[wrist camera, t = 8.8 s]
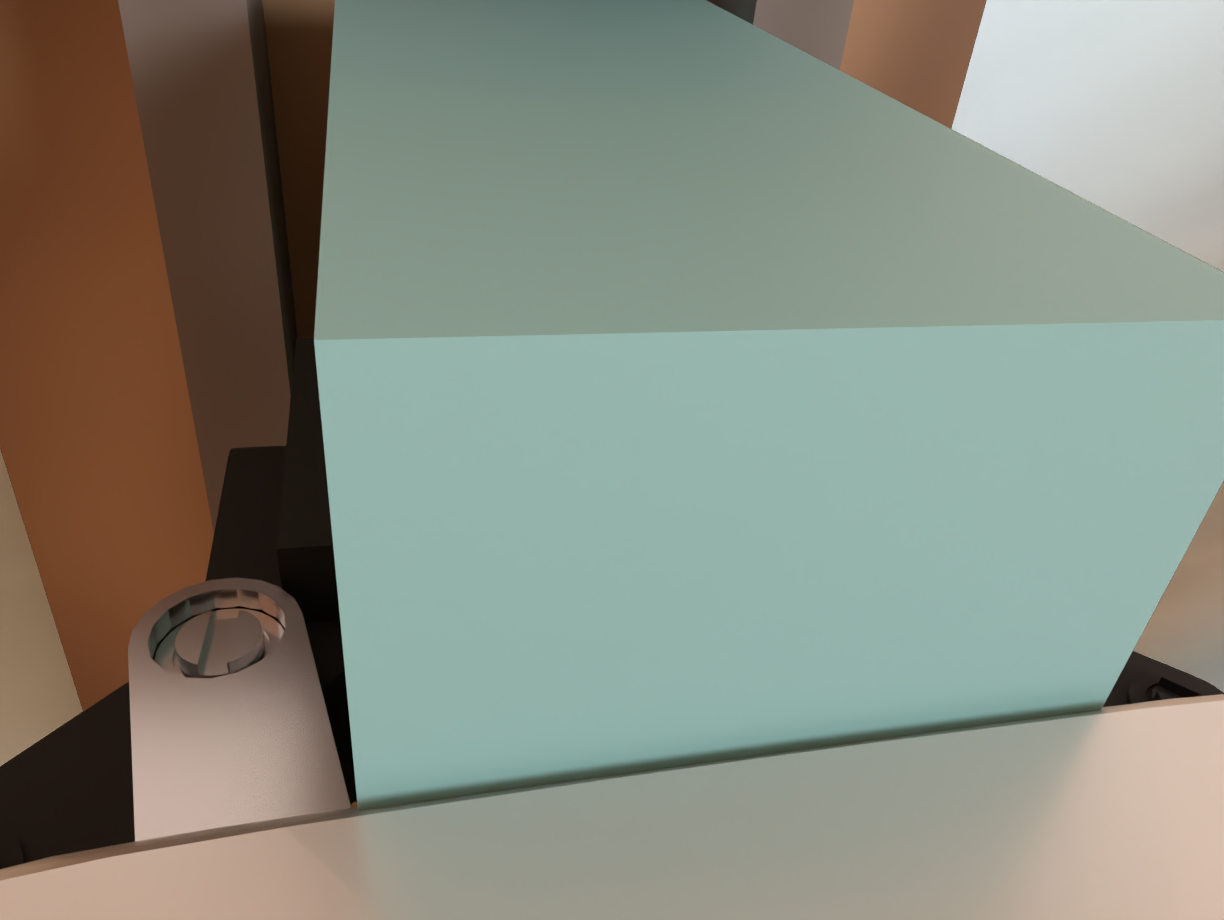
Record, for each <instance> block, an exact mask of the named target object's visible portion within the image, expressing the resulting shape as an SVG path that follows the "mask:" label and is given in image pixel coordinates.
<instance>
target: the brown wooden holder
mask: <svg viewBox="0 0 1224 920" xmlns="http://www.w3.org/2000/svg"><path fill="white" fill-rule="evenodd" d="M707 1H709V2H710V3H712V4H714V5H716V6H718V7H720V8H722V9H724V10H726V11H728V12H729V13H731V14H733V15H735V16H737V17H739V18H741V19H743V20H745V21H747V22H748V23H750V24H752V25H754V26H756V27H758V28H760V29H762V30H764V31H766V32H767V33H769V34H771V35H773V36H775V37H777V38H779V39H781V40H783V41H785V42H787V43H788V44H790V45H792V46H794V47H796V48H798V49H800V50H802V51H804V52H806V53H807V54H809V55H811V56H813V57H815V58H817V59H819V60H821V61H823V62H825V63H826V64H828V65H830V66H832V67H834V68H836V69H838V70H840V71H842V72H844V73H845V74H847V75H849V76H851V77H853V78H855V79H857V80H859V81H861V82H863V83H864V84H866V85H868V86H870V87H872V88H874V89H876V90H878V91H880V92H882V93H883V94H885V95H887V96H889V97H891V98H893V99H895V100H897V101H899V102H901V103H903V104H904V105H906V106H908V107H910V108H912V109H914V110H916V111H918V112H920V113H922V114H923V115H925V116H927V117H929V118H931V119H933V120H935V121H937V122H939V123H941V124H942V125H944V126H946V127H948V128H950V129H951V127H952V124H953V120H954V117H955V113H956V109H957V106H958V102H959V98H960V95H961V91H962V88H963V84H964V80H965V77H966V73H967V69H968V66H969V62H970V58H971V55H972V51H973V48H974V44H975V40H976V37H977V33H978V29H979V26H980V22H981V19H982V15H983V11H984V8H985V4H986V0H707ZM334 8H335V0H0V449H1V452H2V455H3V458H4V461H5V465H6V468H7V471H8V474H9V477H10V481H11V484H12V487H13V490H14V493H15V496H16V500H17V503H18V506H19V509H20V512H21V515H22V519H23V522H24V525H25V528H26V531H27V534H28V538H29V541H30V544H31V547H32V550H33V553H34V557H35V560H36V563H37V566H38V569H39V573H40V576H41V579H42V582H43V585H44V588H45V592H46V595H47V598H48V601H49V604H50V607H51V611H52V614H53V617H54V620H55V623H56V626H57V630H58V633H59V636H60V639H61V642H62V645H63V649H64V652H65V655H66V658H67V661H68V665H69V668H70V671H71V674H72V677H73V680H74V684H75V687H76V690H77V693H78V696H79V699H80V703H81V706H82V709H83V711H85V710H86V709H88V708H89V707H91V706H92V705H94V704H95V703H97V702H98V701H100V700H101V699H103V698H104V697H106V696H107V695H109V694H110V693H112V692H113V691H115V690H116V689H118V688H119V687H121V686H122V685H124V684H126V683H127V682H129V667H128V647H129V642H130V637H131V633H132V630H133V629H134V628H135V626H136V625H137V623H138V622H139V620H140V619H141V617H142V616H143V614H144V613H146V612H147V611H148V610H149V609H151V608H152V607H153V606H154V605H155V604H157V603H158V602H159V601H160V600H162V599H163V598H165V597H167V596H169V595H171V594H173V593H175V592H177V591H179V590H181V589H183V588H185V587H188V586H191V585H195V584H198V583H202V582H205V581H206V575H207V570H208V564H209V559H210V553H211V548H212V542H213V537H214V531H215V526H216V520H217V515H218V509H219V504H220V498H221V493H222V487H223V482H224V476H225V471H226V465H227V460H228V455H229V452H230V450H231V449H232V448H243V447H264V446H285V445H286V443H287V432H288V421H289V411H290V400H291V389H292V379H293V368H294V357H295V347H296V339H297V338H314V331H315V314H316V298H317V282H318V266H319V250H320V234H321V218H322V202H323V185H324V169H325V153H326V137H327V121H328V105H329V89H330V73H331V57H332V40H333V24H334ZM354 807H358V805H357V802H353V803H352V804H351V808H354Z"/></svg>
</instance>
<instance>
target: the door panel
mask: <svg viewBox="0 0 1224 920" xmlns="http://www.w3.org/2000/svg"><path fill="white" fill-rule="evenodd" d="M314 346H315V357H316V368H317V378H318V389H319V400H320V410H321V421H322V432H323V442H324V453H325V464H326V474H327V485H328V496H329V506H330V517H331V528H332V538H333V549H334V560H335V571H336V581H337V592H338V603H339V613H340V624H341V635H342V645H343V656H344V667H345V677H346V688H347V699H348V709H349V720H350V731H351V741H352V752H353V763H354V773H355V784H356V795H357V805H358V811H361V810H368V809H375V808H382V807H389V806H396V805H403V804H410V803H417V802H424V801H431V800H438V799H445V798H452V797H459V796H466V795H473V794H480V793H487V792H494V791H501V790H508V789H515V788H523V787H530V786H537V785H545V784H552V783H560V782H567V781H574V780H582V779H589V778H597V777H604V776H611V775H619V774H626V773H634V772H641V771H648V770H656V769H663V768H670V767H678V766H685V765H692V764H700V763H707V762H715V761H722V760H729V759H737V758H744V757H751V756H759V755H766V754H773V753H781V752H788V751H795V750H803V749H810V748H818V747H825V746H832V745H840V744H847V743H854V742H862V741H869V740H876V739H884V738H891V737H899V736H906V735H913V734H921V733H928V732H936V731H943V730H950V729H958V728H965V727H973V726H980V725H988V724H995V723H1003V722H1011V721H1018V720H1026V719H1034V718H1041V717H1049V716H1057V715H1064V714H1072V713H1080V712H1088V711H1095V710H1101V709H1102V707H1103V705H1104V704H1105V702H1106V700H1107V698H1108V696H1109V694H1110V692H1111V690H1112V689H1113V687H1114V685H1115V683H1116V681H1117V679H1118V677H1119V676H1120V674H1121V672H1122V670H1123V668H1124V666H1125V664H1126V662H1127V661H1128V659H1129V657H1130V655H1131V653H1132V651H1133V649H1134V647H1135V646H1136V644H1137V642H1138V640H1139V638H1140V636H1141V634H1142V633H1143V631H1144V629H1145V627H1146V625H1147V623H1148V621H1149V619H1150V618H1151V616H1152V614H1153V612H1154V610H1155V608H1156V606H1157V604H1158V603H1159V601H1160V599H1161V597H1162V595H1163V593H1164V591H1165V590H1166V588H1167V586H1168V584H1169V582H1170V580H1171V578H1172V576H1173V575H1174V573H1175V571H1176V569H1177V567H1178V565H1179V563H1180V561H1181V560H1182V558H1183V556H1184V554H1185V552H1186V550H1187V548H1188V547H1189V545H1190V543H1191V541H1192V539H1193V537H1194V535H1195V533H1196V532H1197V530H1198V528H1199V526H1200V524H1201V522H1202V520H1203V518H1204V517H1205V515H1206V513H1207V511H1208V509H1209V507H1210V505H1211V504H1212V502H1213V500H1214V498H1215V496H1216V494H1217V492H1218V490H1219V489H1220V487H1221V485H1222V483H1223V481H1224V272H1222V271H1220V270H1218V269H1216V268H1214V267H1212V266H1211V265H1209V264H1207V263H1205V262H1203V261H1201V260H1199V259H1197V258H1195V257H1193V256H1192V255H1190V254H1188V253H1186V252H1184V251H1182V250H1180V249H1178V248H1176V247H1174V246H1173V245H1171V244H1169V243H1167V242H1165V241H1163V240H1161V239H1159V238H1157V237H1155V236H1154V235H1152V234H1150V233H1148V232H1146V231H1144V230H1142V229H1140V228H1138V227H1136V226H1135V225H1133V224H1131V223H1129V222H1127V221H1125V220H1123V219H1121V218H1119V217H1117V216H1116V215H1114V214H1112V213H1110V212H1108V211H1106V210H1104V209H1102V208H1100V207H1098V206H1096V205H1095V204H1093V203H1091V202H1089V201H1087V200H1085V199H1083V198H1081V197H1079V196H1077V195H1076V194H1074V193H1072V192H1070V191H1068V190H1066V189H1064V188H1062V187H1060V186H1058V185H1057V184H1055V183H1053V182H1051V181H1049V180H1047V179H1045V178H1043V177H1041V176H1039V175H1038V174H1036V173H1034V172H1032V171H1030V170H1028V169H1026V168H1024V167H1022V166H1020V165H1019V164H1017V163H1015V162H1013V161H1011V160H1009V159H1007V158H1005V157H1003V156H1001V155H999V154H998V153H996V152H994V151H992V150H990V149H988V148H986V147H984V146H982V145H980V144H979V143H977V142H975V141H973V140H971V139H969V138H967V137H965V136H963V135H961V134H960V133H958V132H956V131H954V130H952V129H950V128H948V127H946V126H944V125H942V124H941V123H939V122H937V121H935V120H933V119H931V118H929V117H927V116H925V115H923V114H922V113H920V112H918V111H916V110H914V109H912V108H910V107H908V106H906V105H904V104H903V103H901V102H899V101H897V100H895V99H893V98H891V97H889V96H887V95H885V94H883V93H882V92H880V91H878V90H876V89H874V88H872V87H870V86H868V85H866V84H864V83H863V82H861V81H859V80H857V79H855V78H853V77H851V76H849V75H847V74H845V73H844V72H842V71H840V70H838V69H836V68H834V67H832V66H830V65H828V64H826V63H825V62H823V61H821V60H819V59H817V58H815V57H813V56H811V55H809V54H807V53H806V52H804V51H802V50H800V49H798V48H796V47H794V46H792V45H790V44H788V43H787V42H785V41H783V40H781V39H779V38H777V37H775V36H773V35H771V34H769V33H767V32H766V31H764V30H762V29H760V28H758V27H756V26H754V25H752V24H750V23H748V22H747V21H745V20H743V19H741V18H739V17H737V16H735V15H733V14H731V13H729V12H728V11H726V10H724V9H722V8H720V7H718V6H716V5H714V4H712V3H710V2H709V1H707V0H335V8H334V24H333V40H332V57H331V73H330V89H329V105H328V121H327V137H326V153H325V169H324V185H323V202H322V218H321V234H320V250H319V266H318V282H317V298H316V314H315V331H314Z"/></svg>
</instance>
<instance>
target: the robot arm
mask: <svg viewBox="0 0 1224 920" xmlns="http://www.w3.org/2000/svg"><path fill="white" fill-rule="evenodd" d="M128 667H129V682H127V683H126V684H124V685H122V686H121V687H119V688H118V689H116V690H115V691H113V692H112V693H110V694H109V695H107V696H106V697H104V698H103V699H101V700H100V701H98V702H97V703H95V704H94V705H92V706H91V707H89V708H88V709H86V710H85V711H83V712H82V713H80V714H79V715H77V716H76V717H74V718H73V719H71V720H70V721H68V722H67V723H65V724H64V725H62V726H61V727H59V728H58V729H56V730H55V731H53V732H52V733H50V734H49V735H47V736H46V737H44V738H43V739H41V740H40V741H38V742H37V743H35V744H34V745H32V746H31V747H29V748H28V749H26V750H25V751H23V752H22V753H20V754H19V755H17V756H16V757H14V758H13V759H11V760H10V761H8V762H7V763H5V764H4V765H2V766H1V767H0V920H1224V693H1223V692H1222V691H1220V690H1219V689H1217V688H1216V687H1215V686H1213V685H1211V684H1209V683H1208V682H1206V681H1204V680H1201V679H1199V678H1197V677H1194V676H1192V675H1190V674H1188V673H1185V672H1183V671H1180V670H1178V669H1175V668H1173V667H1171V666H1168V665H1166V664H1163V663H1161V662H1158V661H1156V660H1153V659H1151V658H1148V657H1146V656H1143V655H1141V654H1139V653H1136V652H1134V651H1132V653H1131V655H1130V657H1129V659H1128V661H1127V662H1126V664H1125V666H1124V668H1123V670H1122V672H1121V674H1120V676H1119V677H1118V679H1117V681H1116V683H1115V685H1114V687H1113V689H1112V690H1111V692H1110V694H1109V696H1108V698H1107V700H1106V702H1105V704H1104V705H1103V707H1102V709H1101V710H1095V711H1088V712H1080V713H1072V714H1064V715H1057V716H1049V717H1041V718H1034V719H1026V720H1018V721H1011V722H1003V723H995V724H988V725H980V726H973V727H965V728H958V729H950V730H943V731H936V732H928V733H921V734H913V735H906V736H899V737H891V738H884V739H876V740H869V741H862V742H854V743H847V744H840V745H832V746H825V747H818V748H810V749H803V750H795V751H788V752H781V753H773V754H766V755H759V756H751V757H744V758H737V759H729V760H722V761H715V762H707V763H700V764H692V765H685V766H678V767H670V768H663V769H656V770H648V771H641V772H634V773H626V774H619V775H611V776H604V777H597V778H589V779H582V780H574V781H567V782H560V783H552V784H545V785H537V786H530V787H523V788H515V789H508V790H501V791H494V792H487V793H480V794H473V795H466V796H459V797H452V798H445V799H438V800H431V801H424V802H417V803H410V804H403V805H396V806H389V807H382V808H375V809H368V810H361V811H358V807H354V808H351V804H352V803H353V802H357V795H356V784H355V773H354V763H353V752H352V741H351V731H350V720H349V709H348V699H347V688H346V677H345V667H344V656H343V645H342V635H341V624H340V613H339V603H338V592H337V581H336V571H335V560H334V549H333V538H332V528H331V517H330V506H329V496H328V485H327V474H326V464H325V453H324V442H323V432H322V421H321V410H320V400H319V389H318V378H317V368H316V357H315V346H314V338H297V339H296V347H295V357H294V368H293V379H292V389H291V400H290V411H289V421H288V432H287V443H286V445H285V446H264V447H243V448H232V449H231V450H230V452H229V455H228V460H227V465H226V471H225V476H224V482H223V487H222V493H221V498H220V504H219V509H218V515H217V520H216V526H215V531H214V537H213V542H212V548H211V553H210V559H209V564H208V570H207V575H206V581H205V582H202V583H198V584H195V585H191V586H188V587H185V588H183V589H181V590H179V591H177V592H175V593H173V594H171V595H169V596H167V597H165V598H163V599H162V600H160V601H159V602H158V603H157V604H155V605H154V606H153V607H152V608H151V609H149V610H148V611H147V612H146V613H144V614H143V616H142V617H141V619H140V620H139V622H138V623H137V625H136V626H135V628H134V629H133V630H132V633H131V637H130V642H129V647H128Z"/></svg>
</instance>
